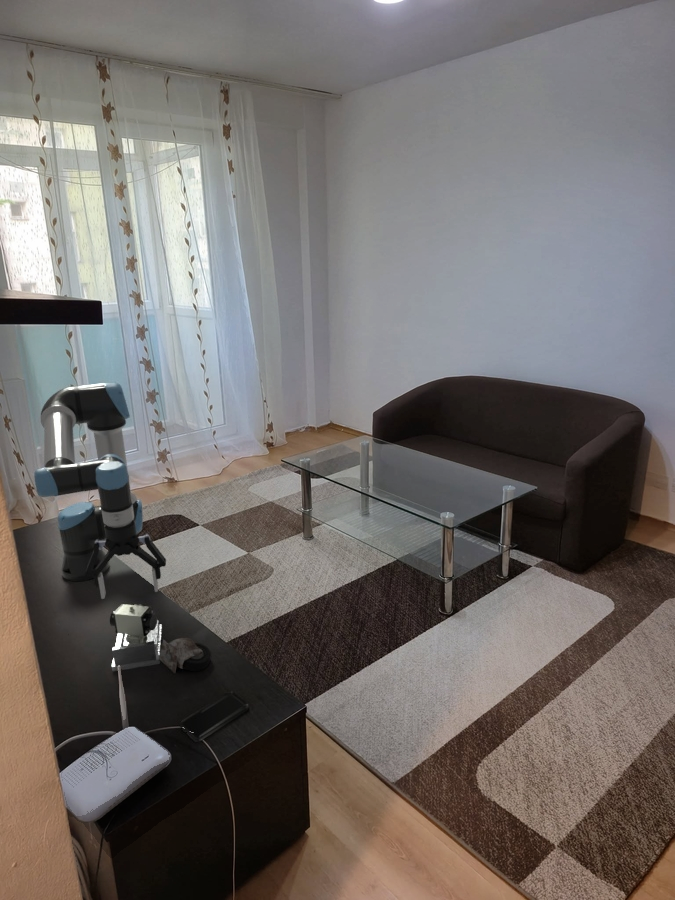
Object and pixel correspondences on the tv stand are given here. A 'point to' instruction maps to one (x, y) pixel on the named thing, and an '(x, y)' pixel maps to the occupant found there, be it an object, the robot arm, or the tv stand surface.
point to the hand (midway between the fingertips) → (130, 592)
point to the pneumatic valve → (133, 622)
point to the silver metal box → (138, 651)
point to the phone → (214, 716)
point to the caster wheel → (185, 655)
